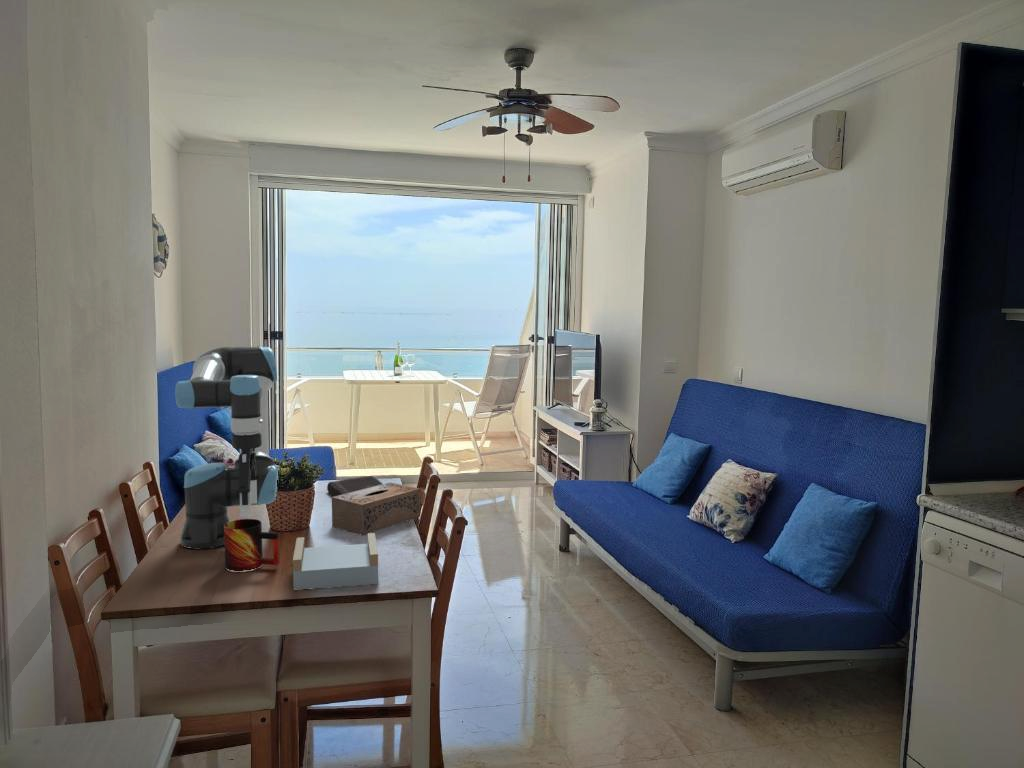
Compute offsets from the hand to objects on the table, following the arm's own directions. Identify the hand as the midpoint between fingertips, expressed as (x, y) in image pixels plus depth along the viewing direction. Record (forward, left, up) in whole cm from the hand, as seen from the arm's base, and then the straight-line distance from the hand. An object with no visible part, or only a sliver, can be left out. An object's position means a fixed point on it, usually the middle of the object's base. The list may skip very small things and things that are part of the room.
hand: (249, 509), depth 202 cm
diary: (+32, +68, -17) cm, 77 cm away
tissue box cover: (+36, +35, -16) cm, 53 cm away
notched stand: (+23, -12, -16) cm, 30 cm away
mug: (0, 0, -16) cm, 16 cm away
